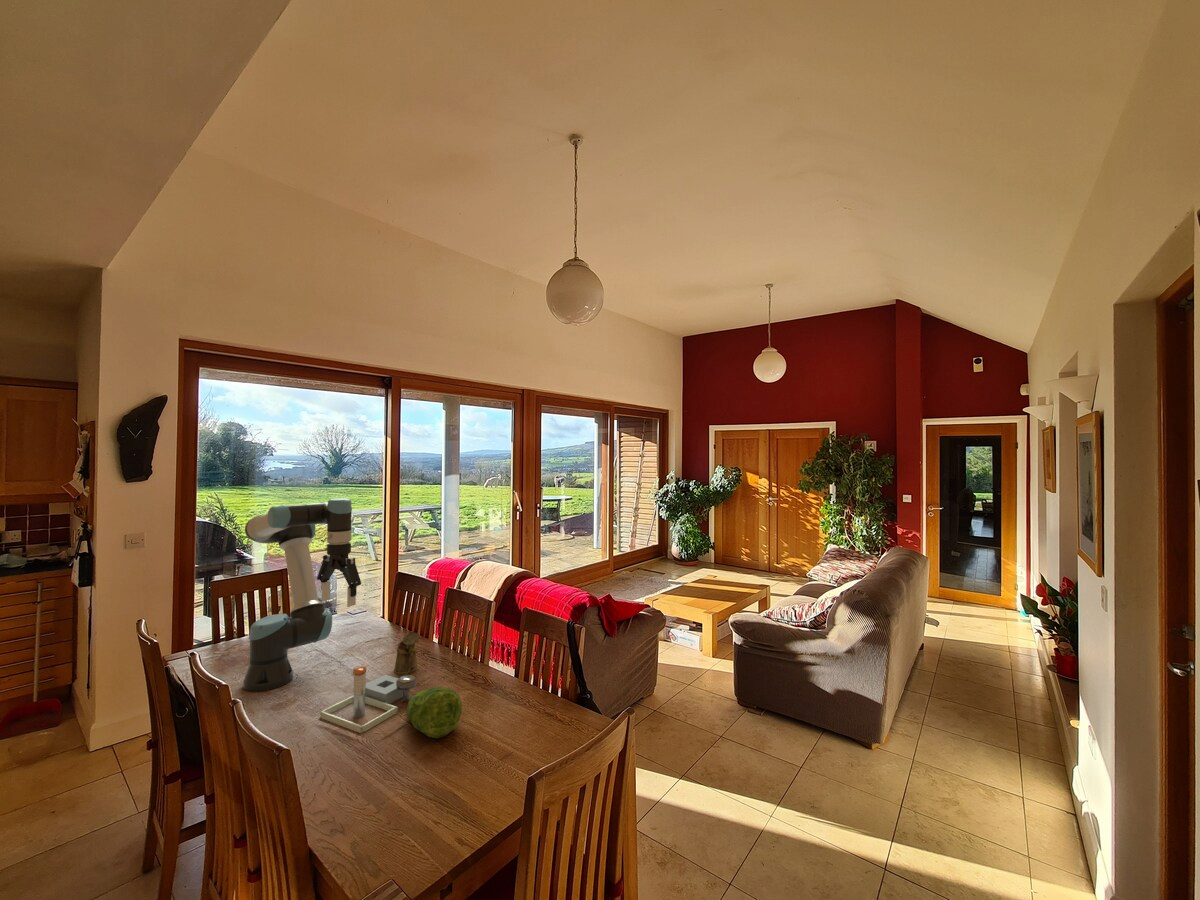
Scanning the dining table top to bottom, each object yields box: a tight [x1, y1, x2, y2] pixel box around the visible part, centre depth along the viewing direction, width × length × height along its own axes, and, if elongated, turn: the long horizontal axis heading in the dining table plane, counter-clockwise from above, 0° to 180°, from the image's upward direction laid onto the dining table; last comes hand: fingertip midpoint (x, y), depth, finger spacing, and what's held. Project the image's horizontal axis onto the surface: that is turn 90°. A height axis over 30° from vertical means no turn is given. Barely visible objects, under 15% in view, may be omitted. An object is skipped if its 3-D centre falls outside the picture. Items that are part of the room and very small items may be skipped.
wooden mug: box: [393, 631, 421, 676], centre depth 188 cm, size 9×14×18 cm, turn 36°
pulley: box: [396, 674, 418, 703], centre depth 166 cm, size 6×6×8 cm
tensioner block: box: [365, 674, 403, 705], centre depth 169 cm, size 12×10×5 cm
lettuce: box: [406, 686, 463, 739], centre depth 153 cm, size 14×23×13 cm, turn 42°
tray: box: [319, 694, 398, 738], centre depth 157 cm, size 19×13×3 cm
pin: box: [352, 666, 367, 719], centre depth 157 cm, size 4×4×15 cm
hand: (338, 603), depth 173 cm, fingers open, 13 cm apart
